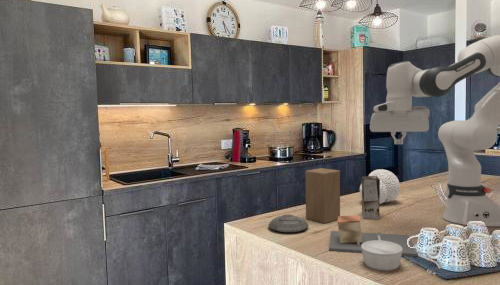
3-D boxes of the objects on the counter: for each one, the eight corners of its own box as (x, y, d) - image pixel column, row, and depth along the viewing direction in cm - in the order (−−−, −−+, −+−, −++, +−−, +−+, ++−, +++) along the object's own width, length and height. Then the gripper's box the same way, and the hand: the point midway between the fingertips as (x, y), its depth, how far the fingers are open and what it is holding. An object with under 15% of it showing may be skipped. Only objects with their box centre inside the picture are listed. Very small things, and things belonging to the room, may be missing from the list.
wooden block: (321, 214, 163) (321, 167, 161) (340, 219, 155) (340, 170, 154) (305, 218, 157) (304, 170, 155) (324, 223, 149) (324, 173, 147)
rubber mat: (408, 237, 131) (408, 233, 131) (418, 256, 114) (418, 252, 114) (331, 233, 137) (331, 229, 137) (329, 250, 120) (329, 246, 120)
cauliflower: (375, 179, 196) (380, 157, 184) (405, 199, 185) (413, 177, 174) (349, 200, 187) (353, 179, 176) (379, 223, 177) (385, 201, 166)
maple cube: (338, 216, 131) (340, 236, 131) (337, 222, 124) (340, 243, 124) (359, 214, 129) (361, 235, 129) (359, 220, 122) (362, 242, 123)
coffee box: (380, 219, 154) (380, 179, 153) (363, 218, 155) (363, 179, 154) (377, 213, 163) (377, 175, 162) (361, 212, 164) (361, 175, 163)
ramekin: (362, 271, 104) (362, 252, 104) (359, 256, 115) (359, 239, 115) (406, 274, 102) (406, 254, 102) (398, 258, 113) (398, 240, 113)
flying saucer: (316, 230, 142) (316, 215, 142) (284, 238, 134) (284, 222, 134) (291, 221, 155) (291, 207, 154) (260, 227, 147) (260, 213, 146)
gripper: (427, 105, 140) (427, 143, 141) (369, 107, 145) (369, 143, 146) (431, 105, 134) (430, 144, 135) (370, 107, 139) (370, 144, 140)
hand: (398, 144), depth 141 cm, fingers closed
